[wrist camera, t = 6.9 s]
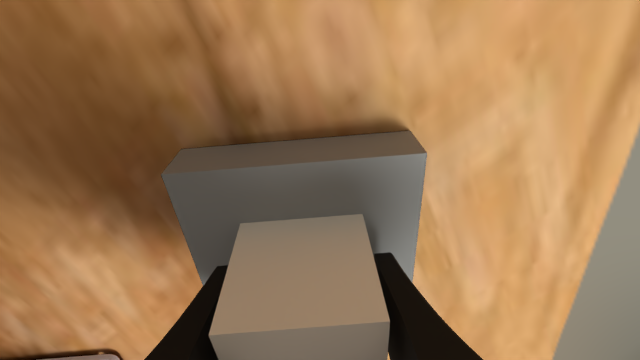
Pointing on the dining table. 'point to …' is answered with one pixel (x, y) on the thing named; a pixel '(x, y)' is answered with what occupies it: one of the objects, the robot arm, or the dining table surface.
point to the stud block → (299, 190)
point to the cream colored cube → (302, 293)
